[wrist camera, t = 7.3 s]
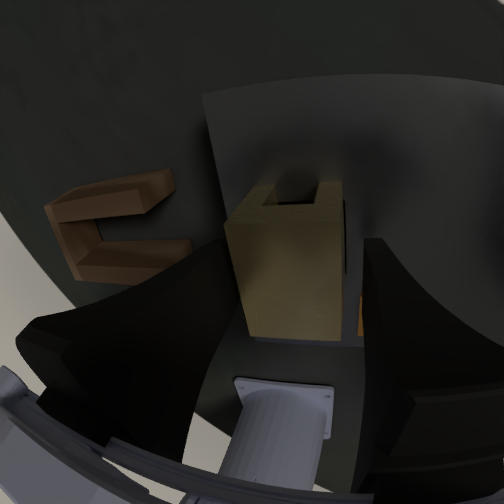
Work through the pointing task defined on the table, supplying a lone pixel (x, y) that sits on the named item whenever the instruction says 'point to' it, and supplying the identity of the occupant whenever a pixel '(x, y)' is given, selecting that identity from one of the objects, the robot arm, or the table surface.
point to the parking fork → (114, 252)
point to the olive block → (290, 263)
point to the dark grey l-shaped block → (382, 176)
